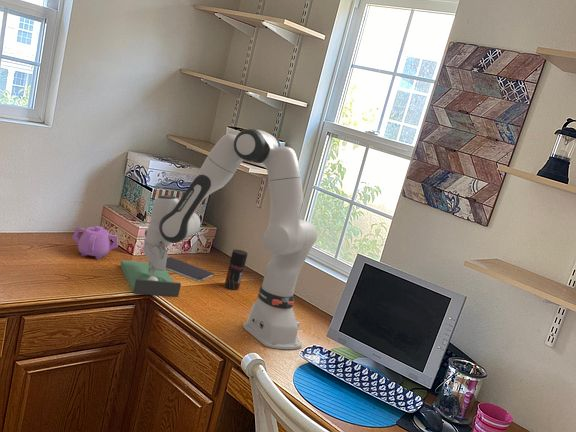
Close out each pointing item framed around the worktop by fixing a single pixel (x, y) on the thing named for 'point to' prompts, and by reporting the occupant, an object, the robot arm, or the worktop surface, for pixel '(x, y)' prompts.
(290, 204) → the robot arm
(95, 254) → the pot
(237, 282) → the deodorant
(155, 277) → the ball
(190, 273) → the notebook
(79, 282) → the worktop surface
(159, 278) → the green
